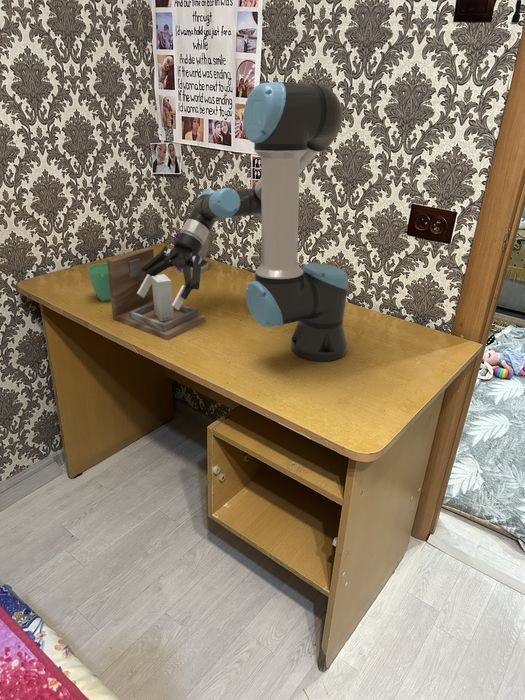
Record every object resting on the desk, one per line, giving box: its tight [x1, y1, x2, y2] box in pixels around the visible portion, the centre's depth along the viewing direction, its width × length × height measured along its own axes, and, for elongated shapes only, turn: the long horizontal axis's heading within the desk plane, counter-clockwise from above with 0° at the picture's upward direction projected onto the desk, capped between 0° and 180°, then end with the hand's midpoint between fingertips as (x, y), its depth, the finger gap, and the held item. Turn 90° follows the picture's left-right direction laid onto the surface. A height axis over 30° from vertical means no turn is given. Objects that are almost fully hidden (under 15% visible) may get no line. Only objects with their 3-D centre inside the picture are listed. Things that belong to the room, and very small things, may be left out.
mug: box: [87, 262, 111, 302], centre depth 169 cm, size 15×10×10 cm
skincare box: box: [151, 273, 174, 321], centre depth 153 cm, size 6×4×12 cm
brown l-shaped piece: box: [106, 247, 206, 341], centre depth 153 cm, size 22×16×18 cm
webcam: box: [173, 230, 210, 274], centre depth 196 cm, size 13×13×15 cm
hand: (157, 301), depth 151 cm, fingers open, 13 cm apart
